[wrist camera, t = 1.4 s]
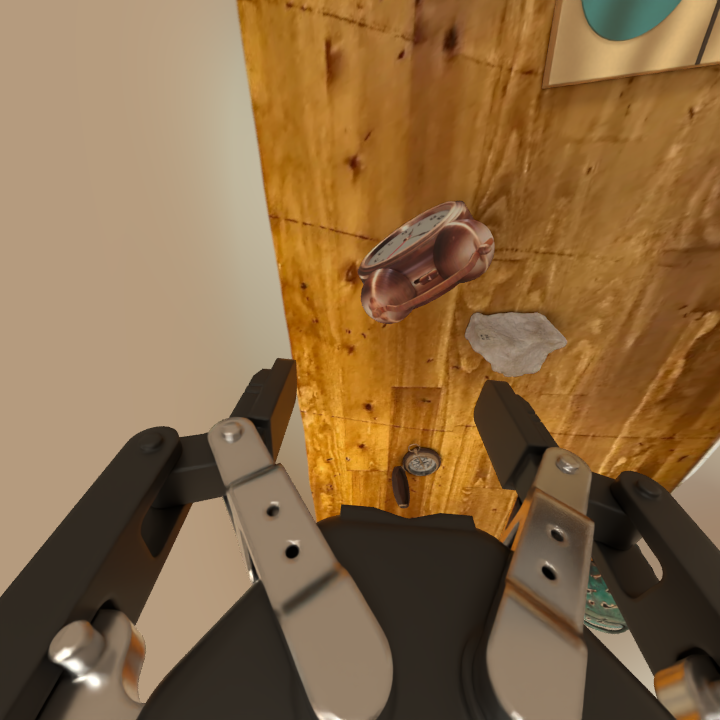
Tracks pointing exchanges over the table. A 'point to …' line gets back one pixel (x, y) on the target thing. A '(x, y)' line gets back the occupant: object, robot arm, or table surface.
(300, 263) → the table surface
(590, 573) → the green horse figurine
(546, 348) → the stone
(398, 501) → the compass
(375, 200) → the table surface
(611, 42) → the board
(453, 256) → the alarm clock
